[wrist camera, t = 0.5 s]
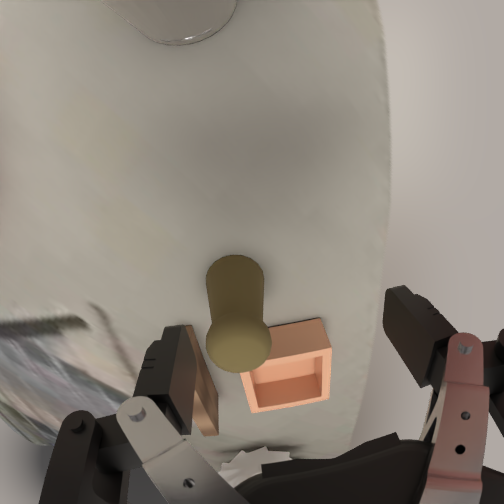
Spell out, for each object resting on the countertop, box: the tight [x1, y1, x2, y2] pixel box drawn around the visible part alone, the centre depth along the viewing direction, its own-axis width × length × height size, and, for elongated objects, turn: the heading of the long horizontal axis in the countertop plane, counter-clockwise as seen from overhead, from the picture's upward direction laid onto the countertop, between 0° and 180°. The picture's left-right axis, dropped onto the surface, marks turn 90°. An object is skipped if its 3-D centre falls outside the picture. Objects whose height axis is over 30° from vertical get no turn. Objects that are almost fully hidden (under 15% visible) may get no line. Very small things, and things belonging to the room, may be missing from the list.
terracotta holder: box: [240, 318, 332, 413], centre depth 34 cm, size 10×10×5 cm
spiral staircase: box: [217, 446, 293, 488], centre depth 46 cm, size 18×18×25 cm
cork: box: [206, 255, 272, 373], centre depth 26 cm, size 6×6×11 cm
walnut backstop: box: [185, 325, 219, 436], centre depth 34 cm, size 14×2×7 cm, turn 9°
